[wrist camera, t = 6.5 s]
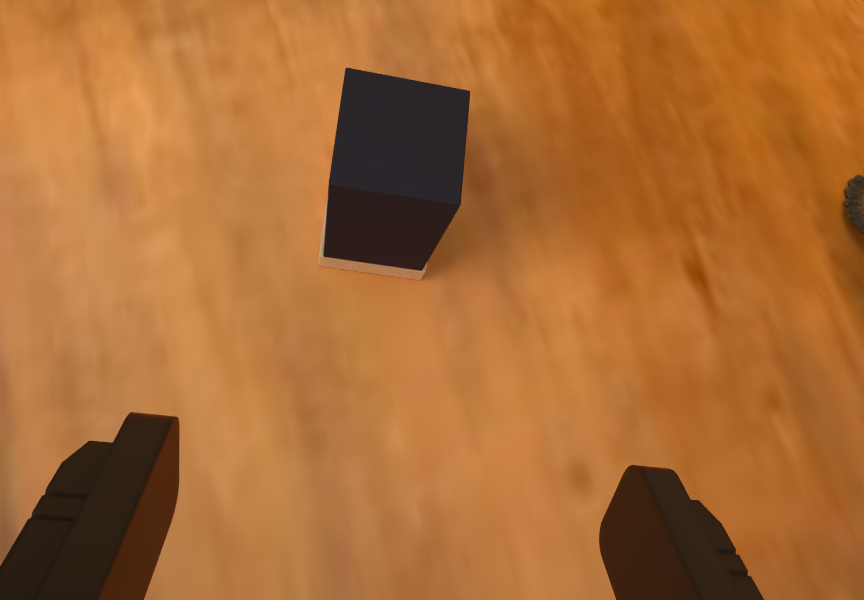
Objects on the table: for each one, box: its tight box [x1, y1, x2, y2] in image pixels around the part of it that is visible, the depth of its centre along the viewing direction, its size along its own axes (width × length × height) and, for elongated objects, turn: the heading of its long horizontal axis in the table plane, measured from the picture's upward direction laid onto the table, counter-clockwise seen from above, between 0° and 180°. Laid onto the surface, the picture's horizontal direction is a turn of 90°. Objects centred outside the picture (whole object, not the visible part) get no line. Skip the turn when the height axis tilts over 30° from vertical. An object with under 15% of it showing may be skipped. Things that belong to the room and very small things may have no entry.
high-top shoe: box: [318, 68, 470, 280], centre depth 28 cm, size 9×5×10 cm, turn 175°
